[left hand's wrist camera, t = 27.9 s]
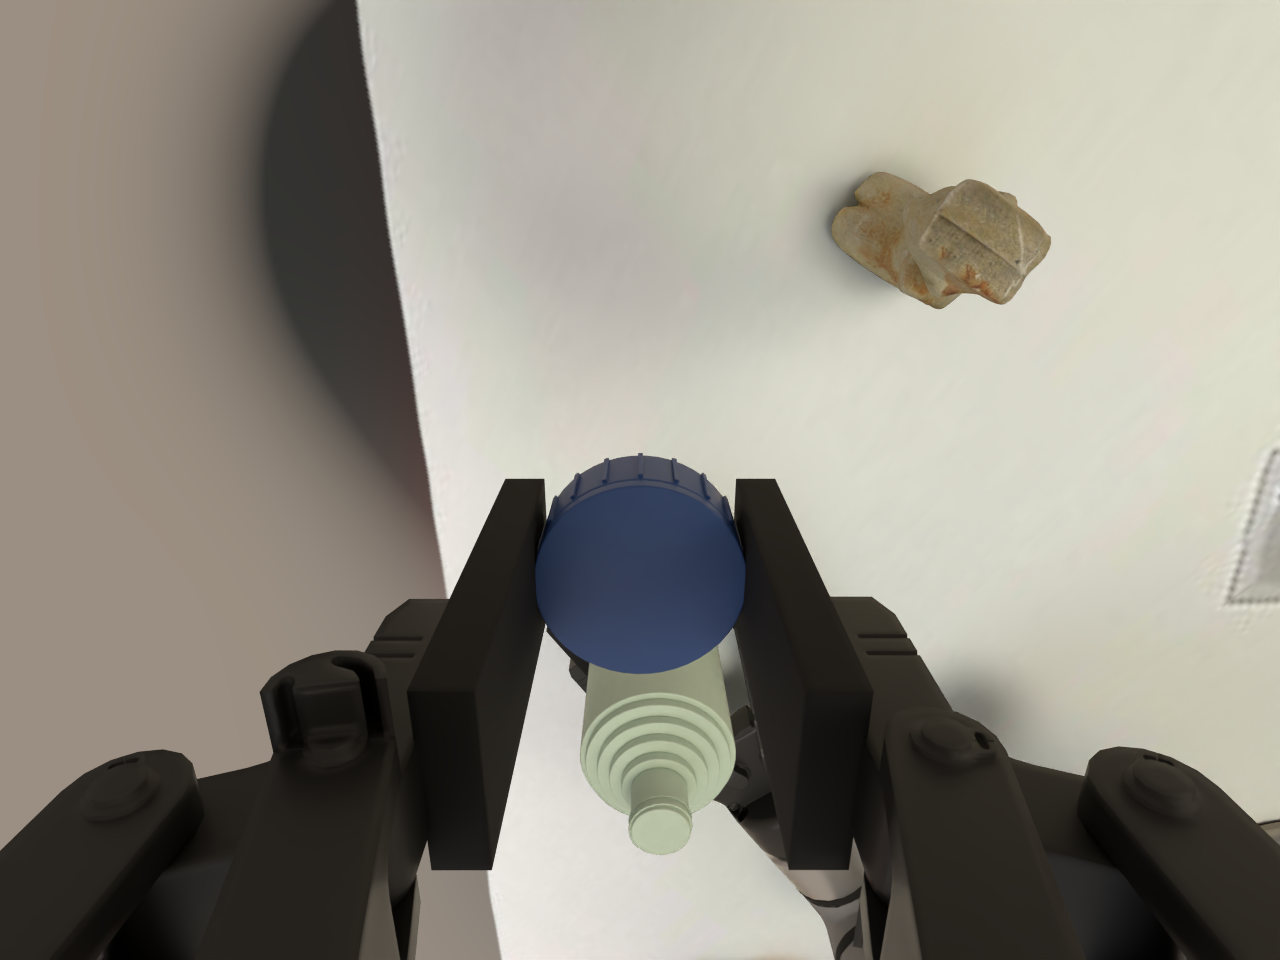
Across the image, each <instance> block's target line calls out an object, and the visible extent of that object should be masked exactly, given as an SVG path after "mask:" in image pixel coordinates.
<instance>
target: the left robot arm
mask: <svg viewBox="0 0 1280 960" xmlns="http://www.w3.org/2000/svg"><path fill="white" fill-rule="evenodd" d="M734 523H735V524H736V526H737V530H738V533H739V537H740V540H741V544H742V547H743V554H744V558H745V562H746V570H745V587H744V603H743V607H742V610H741V613H740V615H739V617H738V619H737V621H736V623H735V626H736V630H737V635H738V640H739V644H740V649H741V653H742V658H743V663H744V667H745V672H746V676H747V681H748V686H749V690H750V695H751V699H752V704H753V708H754V713H755V718H756V722H757V727H758V731H759V736H760V741H761V745H762V750H763V754H764V759H765V764H766V768H767V773H768V777H769V782H770V786H771V791H772V796H773V800H774V805H775V809H776V814H777V819H778V823H779V828H780V832H781V837H782V842H783V846H784V851H785V855H786V860H787V864H788V869H789V870H849V866H850V858H851V851H852V844H853V837H854V840H855V843H856V846H857V849H858V852H859V855H860V858H861V861H862V864H863V867H864V875H863V882H862V888H861V895H860V902H859V908H858V915H857V921H856V928H855V935H854V942H853V947H859V948H862V947H863V943H864V953H865V960H1280V845H1279V844H1278V843H1277V842H1276V841H1275V840H1274V839H1273V838H1272V837H1270V836H1269V835H1268V834H1267V833H1266V832H1265V831H1264V830H1263V829H1262V828H1261V827H1260V826H1259V825H1258V824H1257V823H1256V822H1255V821H1254V820H1253V819H1252V818H1251V817H1250V816H1249V815H1248V814H1247V813H1246V812H1245V811H1244V810H1242V809H1241V808H1240V807H1239V806H1238V805H1237V804H1236V803H1235V802H1234V801H1233V800H1232V799H1231V798H1230V797H1229V796H1228V795H1227V794H1226V793H1225V792H1224V791H1223V790H1222V789H1221V788H1219V787H1218V786H1217V785H1216V784H1214V783H1213V782H1212V781H1210V780H1209V779H1208V778H1206V777H1205V776H1204V775H1203V774H1201V773H1200V772H1199V771H1197V770H1195V769H1193V768H1191V767H1189V766H1187V765H1185V764H1183V763H1181V762H1179V761H1177V760H1175V759H1173V758H1171V757H1168V756H1165V755H1162V754H1159V753H1156V752H1152V751H1149V750H1146V749H1140V748H1130V747H1114V748H1109V749H1104V750H1100V751H1099V752H1098V753H1096V754H1095V755H1094V756H1093V757H1092V758H1091V759H1090V760H1089V763H1088V766H1087V770H1086V773H1085V776H1081V775H1076V774H1072V773H1067V772H1063V771H1058V770H1054V769H1049V768H1045V767H1041V766H1036V765H1032V764H1029V763H1025V762H1022V761H1019V760H1015V759H1013V758H1010V757H1008V754H1007V751H1006V750H1005V748H1004V747H1003V745H1002V744H1001V742H1000V741H999V739H998V738H997V736H996V735H994V734H993V733H992V732H991V731H989V730H988V729H987V728H985V727H984V726H983V725H982V724H980V723H979V722H977V721H975V720H973V719H971V718H969V717H967V716H964V715H962V714H960V713H958V712H954V711H953V710H952V708H951V707H950V705H949V703H948V702H947V700H946V698H945V697H944V695H943V693H942V692H941V690H940V688H939V687H938V685H937V683H936V682H935V680H934V678H933V677H932V675H931V673H930V672H929V670H928V668H927V667H926V665H925V663H924V662H923V660H922V658H921V657H920V655H917V650H916V648H915V647H914V645H913V643H912V642H911V640H910V638H907V633H906V632H905V630H904V628H903V627H902V625H901V623H900V622H899V620H898V618H897V617H896V615H895V614H894V613H893V612H891V611H890V610H889V609H887V608H886V607H885V606H883V605H882V604H881V603H879V602H878V601H877V600H875V599H874V598H873V597H830V596H829V594H828V592H827V589H826V587H825V585H824V583H823V581H822V579H821V577H820V574H819V572H818V570H817V568H816V566H815V564H814V562H813V559H812V557H811V555H810V553H809V551H808V549H807V547H806V544H805V542H804V540H803V538H802V536H801V534H800V531H799V529H798V527H797V525H796V523H795V521H794V519H793V516H792V514H791V512H790V510H789V508H788V506H787V504H786V501H785V499H784V497H783V495H782V493H781V491H780V489H779V486H778V484H777V482H776V480H775V479H736V493H735V512H734ZM544 524H546V503H545V483H544V479H505V481H504V483H503V485H502V487H501V490H500V492H499V494H498V496H497V498H496V500H495V503H494V505H493V507H492V509H491V511H490V513H489V515H488V518H487V520H486V522H485V524H484V526H483V528H482V530H481V533H480V535H479V537H478V539H477V541H476V543H475V545H474V548H473V550H472V552H471V554H470V556H469V558H468V560H467V563H466V565H465V567H464V569H463V571H462V573H461V576H460V578H459V580H458V582H457V584H456V586H455V588H454V591H453V593H452V595H451V597H450V599H409V600H407V601H406V602H405V603H403V604H402V605H401V606H399V607H398V608H397V609H395V610H394V611H393V612H391V613H390V614H388V615H387V616H386V617H385V619H384V620H383V622H382V624H381V625H380V627H379V629H378V631H377V632H376V634H375V636H374V641H371V642H370V644H369V646H368V647H367V649H366V651H365V652H360V651H331V652H326V653H321V654H316V655H311V656H309V657H307V658H304V659H302V660H299V661H297V662H294V663H292V664H290V665H288V666H287V667H285V668H284V669H282V670H281V671H279V672H278V673H276V674H275V675H274V676H272V677H271V678H270V679H269V680H268V682H267V683H266V684H265V686H264V687H263V688H262V690H261V691H260V695H261V700H262V704H263V709H264V713H265V717H266V722H267V726H268V731H269V735H270V739H271V744H272V748H273V755H272V758H271V760H270V761H268V762H266V763H262V764H259V765H255V766H252V767H249V768H245V769H241V770H236V771H231V772H227V773H222V774H218V775H214V776H209V777H205V778H200V779H197V778H196V775H195V771H194V767H193V764H192V763H191V762H190V761H189V760H188V759H187V758H186V757H185V756H184V755H183V754H182V753H177V752H172V751H167V750H152V751H142V752H136V753H133V754H130V755H126V756H123V757H120V758H117V759H113V760H110V761H108V762H106V763H105V764H103V765H101V766H99V767H97V768H95V769H93V770H91V771H89V772H87V773H85V774H83V775H82V776H81V777H79V778H78V779H77V780H76V781H74V782H73V783H72V784H70V785H69V786H68V787H66V788H65V789H64V790H63V791H61V792H60V793H59V794H58V795H57V796H56V797H55V798H54V799H53V800H52V801H51V802H50V803H49V804H48V805H47V806H46V807H45V808H44V809H43V810H42V811H41V812H40V813H39V814H38V815H37V816H36V817H35V818H34V819H32V820H31V821H30V822H29V823H28V824H27V825H26V826H25V827H24V828H23V829H22V830H21V831H20V832H19V833H18V834H17V835H16V836H15V837H14V838H13V839H12V840H11V841H10V842H9V843H8V844H7V845H6V846H5V847H4V848H3V849H2V850H1V851H0V960H415V955H416V944H417V934H418V923H419V913H420V895H419V888H418V882H417V875H416V873H417V870H418V866H419V863H420V860H421V857H422V854H423V851H424V848H425V845H426V842H427V841H428V848H429V855H430V862H431V869H432V870H492V867H493V862H494V858H495V853H496V848H497V844H498V839H499V835H500V830H501V825H502V821H503V816H504V812H505V807H506V802H507V798H508V793H509V789H510V784H511V779H512V775H513V770H514V766H515V761H516V757H517V752H518V747H519V743H520V738H521V734H522V729H523V724H524V720H525V715H526V711H527V706H528V701H529V697H530V692H531V688H532V683H533V678H534V674H535V669H536V665H537V660H538V656H539V651H540V646H541V642H542V637H543V633H544V628H545V621H544V619H543V618H542V616H541V613H540V611H539V608H538V606H537V596H536V579H535V561H536V557H537V549H538V545H539V542H540V538H541V535H542V531H543V528H544Z"/></svg>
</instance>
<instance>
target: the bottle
mask: <svg viewBox="0 0 1280 960" xmlns="http://www.w3.org/2000/svg"><path fill="white" fill-rule="evenodd" d="M580 759H581V766H582V770H583V773H584V775H585V777H586V779H587V781H588V783H589V784H590V786H591V787H592V788H593V789H594V791H595V792H596V793H597V794H598V796H599V797H600V798H601V799H602V800H603V801H604V802H606V803H607V804H608V805H609V806H611V807H612V808H614V809H616V810H618V811H619V812H621V813H624V814H626V815H629V836H630V838H631V840H632V842H633V844H634V845H635V846H636V847H637V848H638V847H639V848H640V849H641V850H643V851H645V852H647V853H651V854H656V855H665V854H670V853H673V852H676V851H678V850H679V849H681V848H682V847H683V846H684V845H685V844H686V843H687V842H688V840H689V838H690V834H691V830H692V817H691V814H692V813H694V812H696V811H698V810H700V809H701V808H703V807H704V806H706V805H707V804H709V803H710V802H711V801H712V800H713V799H714V798H715V797H716V796H717V795H718V794H719V793H720V791H721V790H722V789H723V787H724V786H725V784H726V783H727V782H728V780H729V778H730V776H731V774H732V771H733V768H734V765H735V759H736V748H735V742H734V736H733V730H732V725H731V719H730V713H729V708H728V702H727V696H726V691H725V685H724V679H723V674H722V668H721V662H720V657H719V651H718V645H717V646H716V647H715V648H713V649H712V650H711V651H710V652H708V653H707V654H705V655H704V656H702V657H701V658H699V659H697V660H695V661H693V662H691V663H689V664H687V665H685V666H682V667H679V668H677V669H673V670H669V671H665V672H659V673H652V674H630V673H621V672H616V671H611V670H608V669H605V668H601V667H598V666H596V665H594V664H591V663H589V672H588V681H587V691H586V701H585V711H584V720H583V730H582V740H581V750H580Z"/></svg>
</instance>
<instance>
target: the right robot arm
mask: <svg viewBox="0 0 1280 960" xmlns="http://www.w3.org/2000/svg"><path fill="white" fill-rule="evenodd" d="M733 628H734V630H735V635H736V640H737V644H738V649H739V654H740V658H741V663H742V668H743V672H744V677H745V682H746V686H747V691H748V696H749V700H750V705H751V708H749V707H748V706H747V705H746V706H744V707H742V708H741V709H739V710H737V711H736V712H735V713H734V714H733V715H732V716H731V717H730V719H731V725H732V730H733V736H734V742H735V748H736V759H735V765H734V768H733V771H732V774H731V776H730V778H729V780H728V782H727V783H726V784H725V786H724V787H723V789H722V790H721V791H720V793H719V794H718V795H717V796H716V797H715V798H714V799H713V800H714V801H717V802H720V803H722V804H724V805H725V806H726V807H727V808H728V810H729V811H730V812H731V814H732V815H733V817H734V818H735V819H736V821H737V822H738V823H739V824H740V825H741V826H742V827H743V829H744V830H745V831H746V832H747V833H748V834H749V835H750V836H751V838H752V839H753V840H754V841H755V842H756V843H757V844H758V845H759V847H760V848H761V849H762V850H764V851H765V852H766V855H767V856H768V857H769V858H770V859H771V860H772V861H773V862H774V864H775V865H776V866H777V867H778V868H779V869H780V870H781V871H782V873H783V874H784V875H785V876H786V877H787V878H788V879H789V880H790V881H791V883H792V884H793V885H794V886H795V887H796V888H797V889H798V891H799V892H800V893H801V894H802V895H803V896H804V897H805V898H806V899H807V900H808V901H809V903H810V904H811V905H812V906H813V907H814V909H815V910H816V911H817V912H818V913H819V915H820V916H821V918H822V919H823V921H824V923H825V925H826V928H827V931H828V935H829V939H830V943H831V947H832V951H833V955H834V959H835V960H865V953H864V943H863V947H862V948H859V947H853V942H854V935H855V928H856V921H857V915H858V908H859V902H860V895H861V888H862V882H863V875H864V867H863V864H862V861H861V858H860V855H859V852H858V849H857V846H856V843H855V840H854V837H853V844H852V851H851V858H850V866H849V870H789V869H788V864H787V860H786V855H785V851H784V846H783V842H782V837H781V832H780V828H779V823H778V819H777V814H776V809H775V805H774V800H773V796H772V791H771V786H770V782H769V777H768V773H767V768H766V764H765V759H764V754H763V750H762V745H761V741H760V736H759V731H758V727H757V722H756V718H755V713H754V708H753V704H752V699H751V695H750V690H749V686H748V681H747V676H746V672H745V667H744V663H743V658H742V653H741V649H740V644H739V640H738V635H737V630H736V626H735V624H734V626H733ZM547 633H548V634H549V635H550V636H551V637H552V638H553V639H554V640H555V641H556V643H557V644H558V645H559V646H560V647H561V648H562V649H563V650H564V651H565V653H566V654H567V655H568V656H569V657H570V658H571V659H570V666H569V672H570V674H571V677H572V678H573V679H574V680H575V681H576V682H577V684H578V685H579V686H580V687H581V688H582V689H583V690H584V691H585V692H586V691H587V681H588V672H589V662H587V661H585V660H583V659H582V658H580V657H578V656H577V655H575V654H574V653H572V652H571V651H570V650H569V649H567V648H566V647H565V646H564V645H563V644H562V643H561V642H560V641H559V640H558V639H557V638H556V637H555V636H554V635H553V633H552V632H551V631H550V629H549V628H548V626H547ZM1260 827H1261V828H1262V829H1263V830H1264V831H1265V832H1266V833H1267V834H1268V835H1269V836H1270V837H1272V838H1273V839H1274V840H1275V841H1276V842H1277V843H1278V844H1279V845H1280V822H1276V823H1270V824H1265V825H1260Z"/></svg>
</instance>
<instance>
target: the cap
mask: <svg viewBox="0 0 1280 960" xmlns="http://www.w3.org/2000/svg"><path fill="white" fill-rule="evenodd" d="M745 570H746V562H745V558H744V554H743V547H742V544H741V540H740V537H739V533H738V530H737V526H736V524H735V523H734V519H733V516H732V513H731V510H730V506H729V503H728V499H727V497H726V496H724V497H722V495H721V494H720V493H719V492H718V490H717V489H716V488H715V487H714V486H713V485H712V484H711V483H710V482H709V481H708V480H707V478H706V475H705V474H704V473H702V474H701V475H700V474H699V473H697V472H696V471H694V470H693V469H691V468H689V467H687V466H685V465H683V464H680V463H677V460H676V459H674V458H672V460H668V459H664V458H660V457H652V456H643V453H638V456H628V457H621V458H616V459H613V460H609V458H606V459H604V462H603V463H601V464H598V465H596V466H593V467H592V468H590V469H588V470H587V471H585V472H583V473H582V474H579V473H577V474H576V475H575V477H574V480H573V481H572V482H571V483H570V484H569V485H568V486H567V487H566V488H565V489H564V490H563V491H562V492H561V494H560V495H559V496H558V497H557V496H555V497H554V498H553V502H552V505H551V509H550V512H549V516H548V518H547V521H546V524H544V528H543V531H542V535H541V538H540V542H539V545H538V549H537V557H536V561H535V579H536V596H537V606H538V608H539V611H540V613H541V616H542V618H543V619H544V621H545V623H546V625H547V626H548V628H549V629H550V631H551V632H552V633H553V635H554V636H555V637H556V638H557V639H558V640H559V641H560V642H561V643H562V644H563V645H564V646H565V647H566V648H567V649H569V650H570V651H571V652H572V653H574V654H575V655H577V656H578V657H580V658H582V659H583V660H585V661H587V662H589V663H591V664H594V665H596V666H598V667H601V668H605V669H608V670H611V671H616V672H621V673H630V674H652V673H659V672H665V671H669V670H673V669H677V668H679V667H682V666H685V665H687V664H689V663H691V662H693V661H695V660H697V659H699V658H701V657H702V656H704V655H705V654H707V653H708V652H710V651H711V650H712V649H713V648H715V647H716V646H717V645H718V644H719V643H720V642H721V641H722V640H723V639H724V638H725V637H726V635H727V634H728V633H729V632H730V630H731V629H732V627H733V626H734V624H735V623H736V621H737V619H738V617H739V615H740V613H741V610H742V607H743V603H744V587H745Z"/></svg>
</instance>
